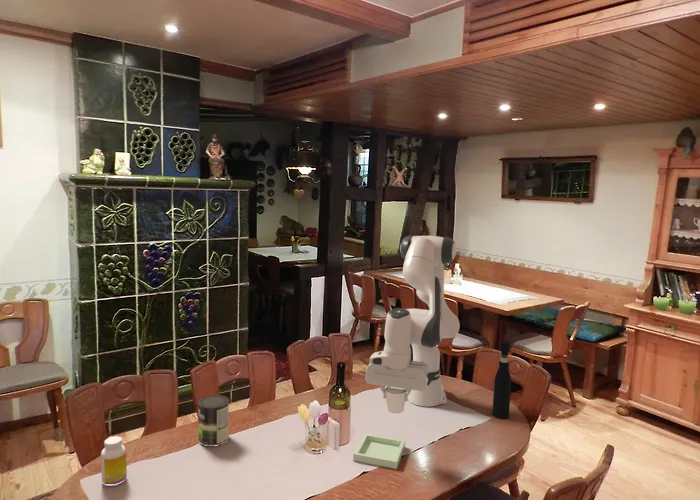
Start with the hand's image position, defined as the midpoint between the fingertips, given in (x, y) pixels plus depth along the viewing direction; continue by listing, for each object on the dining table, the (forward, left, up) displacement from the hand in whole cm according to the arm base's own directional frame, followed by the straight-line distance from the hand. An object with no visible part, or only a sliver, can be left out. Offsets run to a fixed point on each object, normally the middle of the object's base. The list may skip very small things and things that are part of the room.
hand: (395, 399), depth 161 cm
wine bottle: (-44, +35, -20) cm, 59 cm away
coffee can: (+11, -61, -20) cm, 65 cm away
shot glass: (0, 0, -4) cm, 4 cm away
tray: (+1, -4, -20) cm, 20 cm away
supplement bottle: (+42, -75, -20) cm, 89 cm away
